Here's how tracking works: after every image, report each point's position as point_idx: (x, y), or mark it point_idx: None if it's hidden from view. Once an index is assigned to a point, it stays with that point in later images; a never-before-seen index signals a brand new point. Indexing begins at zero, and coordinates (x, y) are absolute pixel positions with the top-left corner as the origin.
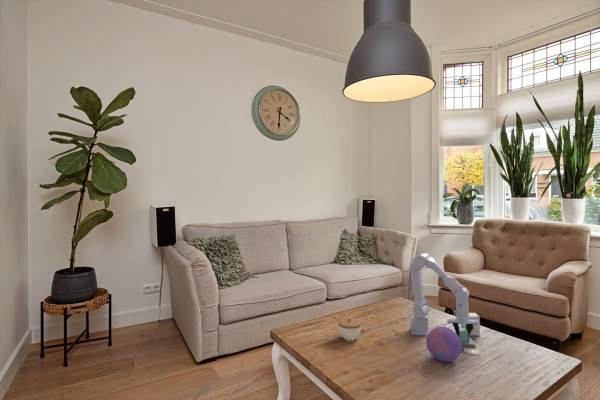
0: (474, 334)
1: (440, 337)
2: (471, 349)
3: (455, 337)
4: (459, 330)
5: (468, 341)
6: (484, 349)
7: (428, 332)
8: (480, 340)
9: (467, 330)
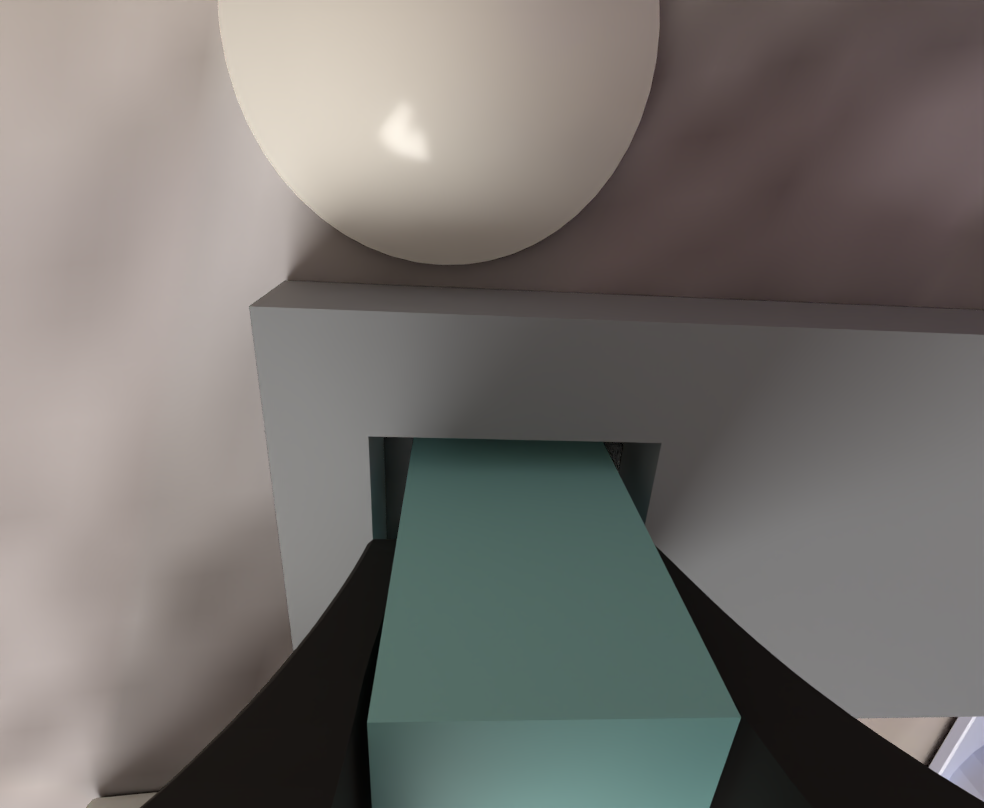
0: None
1: None
2: (417, 146)
3: None
4: (710, 762)
5: (379, 519)
6: (64, 243)
7: (957, 766)
8: (106, 645)
9: (356, 804)
